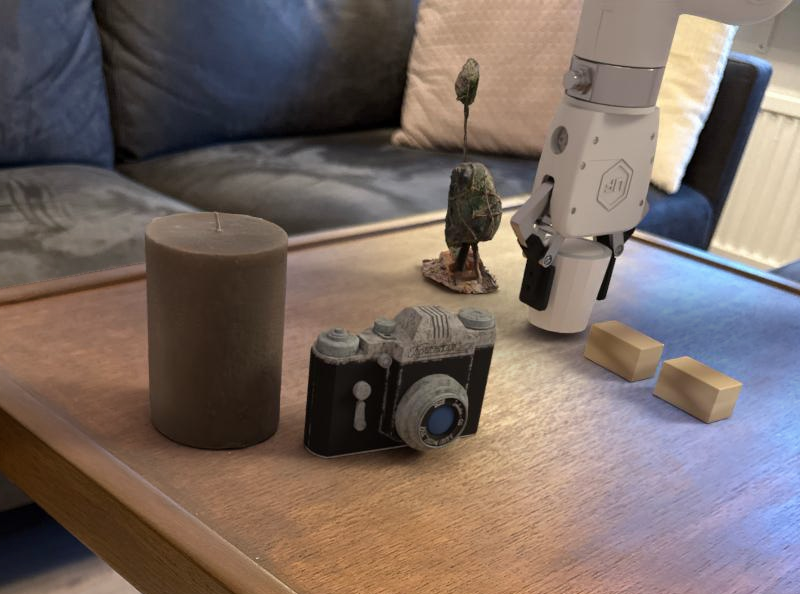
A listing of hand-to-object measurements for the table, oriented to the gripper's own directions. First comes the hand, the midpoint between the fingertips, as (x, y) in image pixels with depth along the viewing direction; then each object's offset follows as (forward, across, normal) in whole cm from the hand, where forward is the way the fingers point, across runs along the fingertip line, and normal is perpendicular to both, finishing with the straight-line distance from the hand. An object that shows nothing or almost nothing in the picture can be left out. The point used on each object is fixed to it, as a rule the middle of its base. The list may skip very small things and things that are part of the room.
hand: (562, 299), depth 92 cm
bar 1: (+3, 0, -8) cm, 9 cm away
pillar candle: (+3, -38, -4) cm, 39 cm away
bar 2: (+3, 0, -17) cm, 17 cm away
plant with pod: (+3, -1, +14) cm, 14 cm away
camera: (+3, -27, -13) cm, 30 cm away
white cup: (+2, 0, 0) cm, 2 cm away
